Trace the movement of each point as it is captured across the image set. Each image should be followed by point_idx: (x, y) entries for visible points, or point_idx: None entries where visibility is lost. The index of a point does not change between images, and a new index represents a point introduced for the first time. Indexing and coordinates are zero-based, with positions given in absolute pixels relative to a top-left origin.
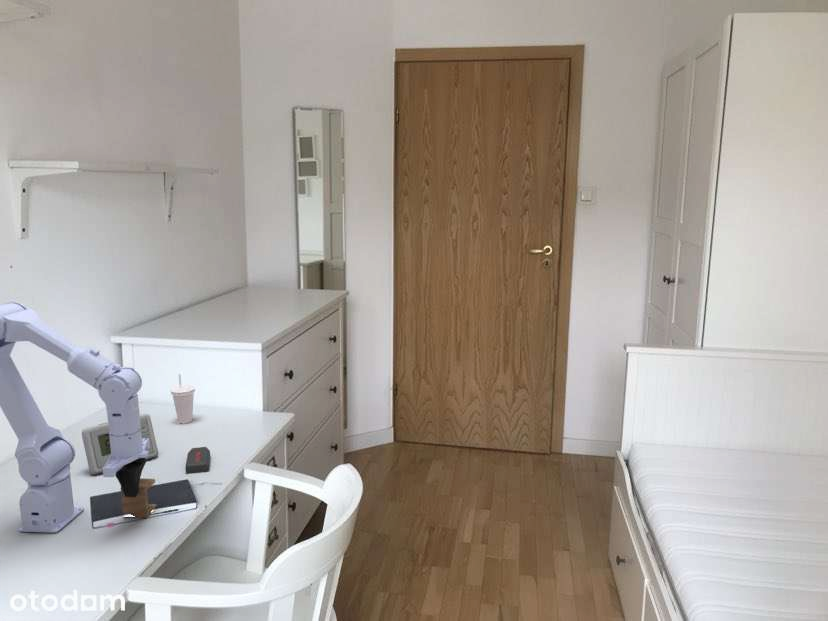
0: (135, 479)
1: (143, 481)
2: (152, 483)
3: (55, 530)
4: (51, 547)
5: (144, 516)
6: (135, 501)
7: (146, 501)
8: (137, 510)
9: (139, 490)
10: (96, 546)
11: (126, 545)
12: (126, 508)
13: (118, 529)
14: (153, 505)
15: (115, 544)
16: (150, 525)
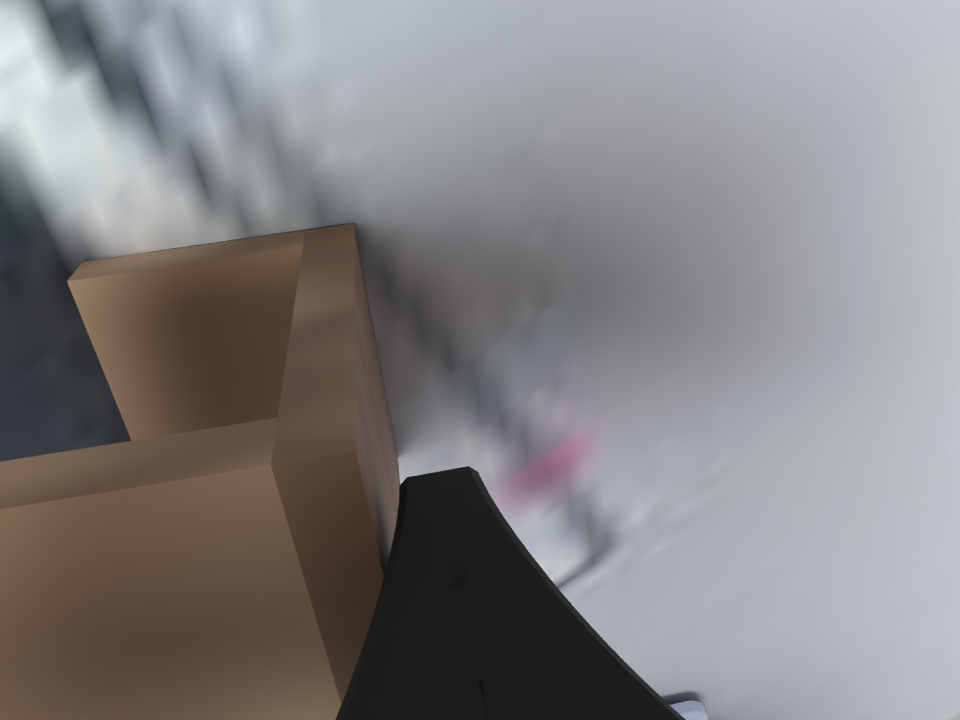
0: (632, 705)
1: (92, 633)
2: (17, 476)
3: (705, 718)
4: (872, 606)
5: (359, 258)
6: (382, 447)
7: (329, 316)
8: (375, 364)
9: (370, 503)
10: (900, 344)
11: (923, 80)
12: (397, 487)
13: (616, 356)
14: (114, 302)
15: (888, 206)
16: (502, 74)
